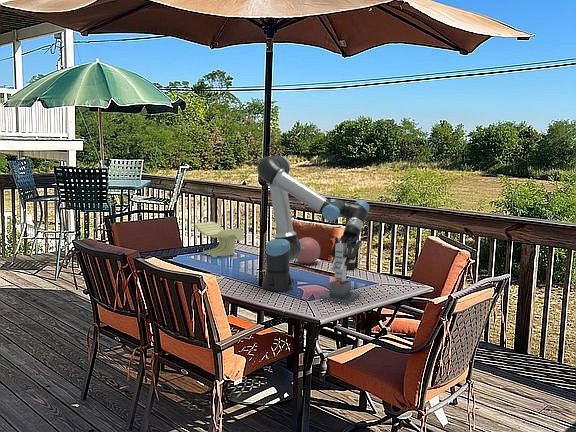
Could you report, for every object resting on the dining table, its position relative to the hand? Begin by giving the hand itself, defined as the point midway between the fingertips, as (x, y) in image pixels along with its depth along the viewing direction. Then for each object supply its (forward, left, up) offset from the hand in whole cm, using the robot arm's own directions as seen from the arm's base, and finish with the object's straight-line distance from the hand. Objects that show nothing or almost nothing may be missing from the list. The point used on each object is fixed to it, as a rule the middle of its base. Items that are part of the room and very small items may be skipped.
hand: (337, 270), depth 267 cm
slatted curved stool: (-30, +110, -15) cm, 115 cm away
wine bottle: (+31, +53, -15) cm, 63 cm away
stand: (+3, +2, -14) cm, 15 cm away
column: (+3, +2, -8) cm, 9 cm away
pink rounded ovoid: (+11, +70, -15) cm, 73 cm away
